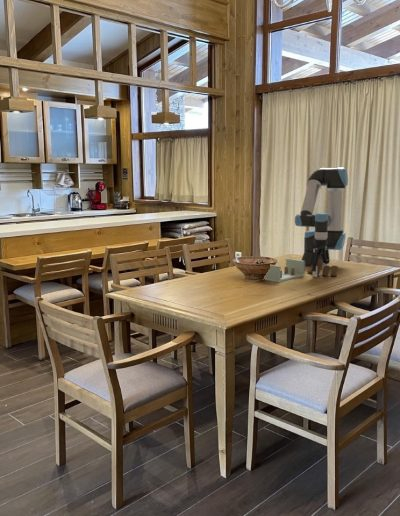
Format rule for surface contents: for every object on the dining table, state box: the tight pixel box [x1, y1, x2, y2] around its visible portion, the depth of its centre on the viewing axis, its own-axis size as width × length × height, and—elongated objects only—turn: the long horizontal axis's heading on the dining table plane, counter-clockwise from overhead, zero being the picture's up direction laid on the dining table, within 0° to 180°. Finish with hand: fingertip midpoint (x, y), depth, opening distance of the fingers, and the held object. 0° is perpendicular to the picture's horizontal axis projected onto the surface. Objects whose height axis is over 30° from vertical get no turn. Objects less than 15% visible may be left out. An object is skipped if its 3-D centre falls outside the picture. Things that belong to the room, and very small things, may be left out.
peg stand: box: [263, 257, 306, 283], centre depth 294 cm, size 25×13×9 cm, turn 133°
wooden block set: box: [307, 258, 339, 277], centre depth 299 cm, size 18×9×10 cm, turn 59°
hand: (319, 275), depth 298 cm, fingers open, 9 cm apart
